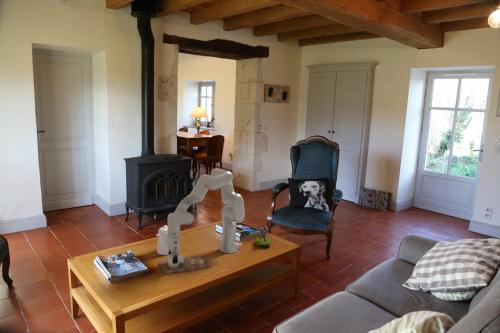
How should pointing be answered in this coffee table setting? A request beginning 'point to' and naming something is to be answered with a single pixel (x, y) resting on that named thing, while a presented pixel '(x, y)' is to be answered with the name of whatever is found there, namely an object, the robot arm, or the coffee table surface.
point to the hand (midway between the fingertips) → (173, 260)
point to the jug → (170, 258)
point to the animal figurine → (263, 238)
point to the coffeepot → (163, 241)
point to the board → (186, 265)
